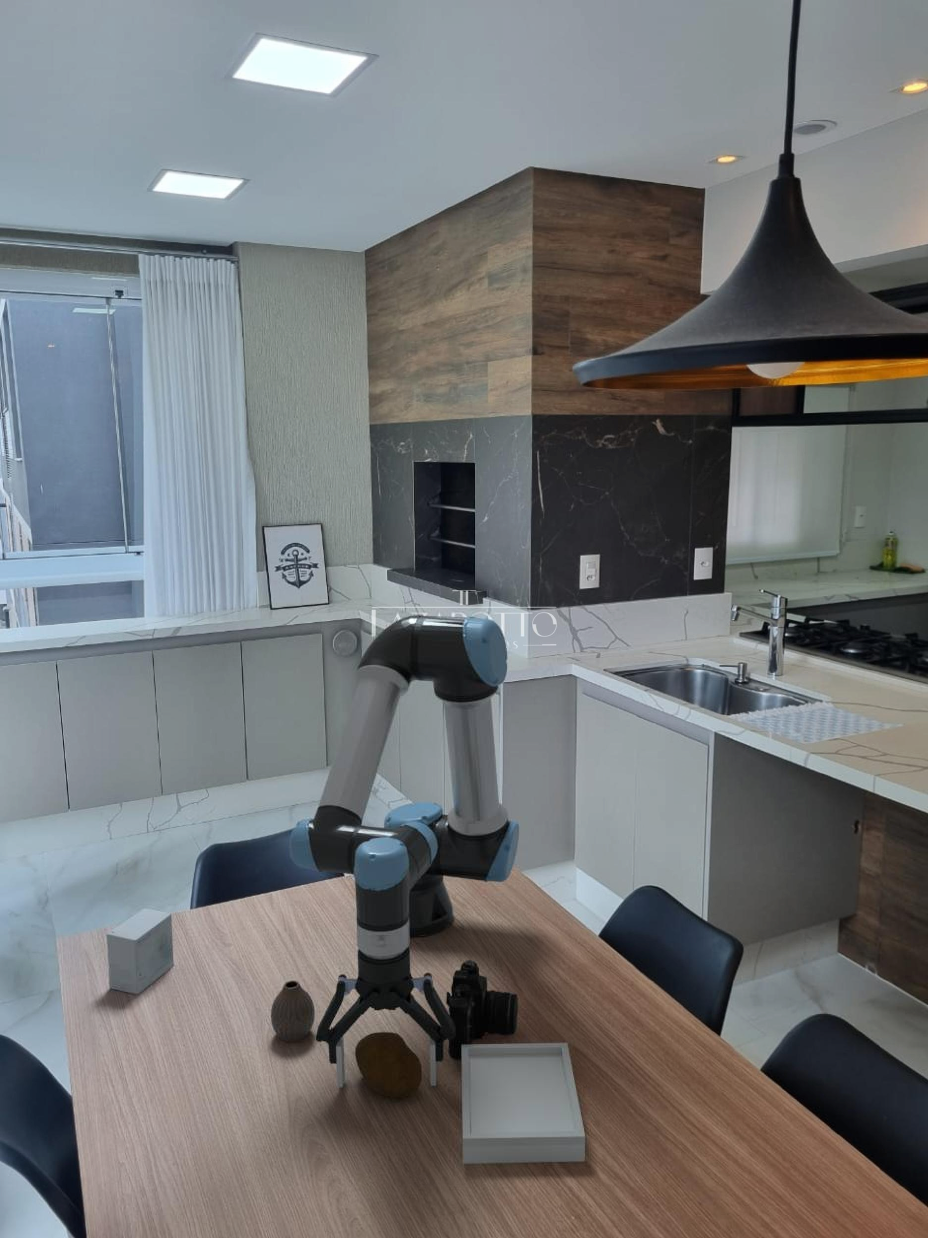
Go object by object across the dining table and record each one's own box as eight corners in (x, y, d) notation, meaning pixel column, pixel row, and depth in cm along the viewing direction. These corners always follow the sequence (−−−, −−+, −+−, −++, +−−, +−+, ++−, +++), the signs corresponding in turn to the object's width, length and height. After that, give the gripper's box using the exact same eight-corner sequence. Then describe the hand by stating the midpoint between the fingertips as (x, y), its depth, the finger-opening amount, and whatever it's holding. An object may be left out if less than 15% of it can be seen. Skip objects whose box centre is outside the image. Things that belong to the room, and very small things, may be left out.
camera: (509, 1067, 144) (509, 1006, 142) (441, 1059, 146) (440, 1000, 144) (521, 1014, 157) (521, 958, 156) (458, 1008, 159) (457, 953, 158)
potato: (401, 1118, 133) (400, 1068, 132) (338, 1084, 140) (336, 1036, 139) (437, 1087, 139) (436, 1039, 138) (375, 1056, 147) (373, 1010, 145)
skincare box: (139, 996, 164) (135, 939, 162) (108, 989, 166) (104, 934, 164) (176, 965, 174) (172, 912, 172) (146, 959, 176) (142, 907, 174)
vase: (263, 1035, 152) (260, 985, 151) (297, 1016, 157) (295, 968, 156) (289, 1053, 148) (287, 1001, 146) (324, 1033, 153) (322, 983, 151)
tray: (461, 1067, 144) (461, 1044, 143) (566, 1065, 144) (567, 1043, 143) (463, 1164, 124) (462, 1138, 124) (584, 1161, 124) (585, 1136, 124)
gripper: (292, 962, 132) (298, 1099, 136) (470, 959, 133) (472, 1096, 136) (300, 935, 140) (306, 1066, 143) (469, 933, 140) (471, 1063, 143)
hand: (387, 1081), depth 140 cm, fingers open, 13 cm apart
